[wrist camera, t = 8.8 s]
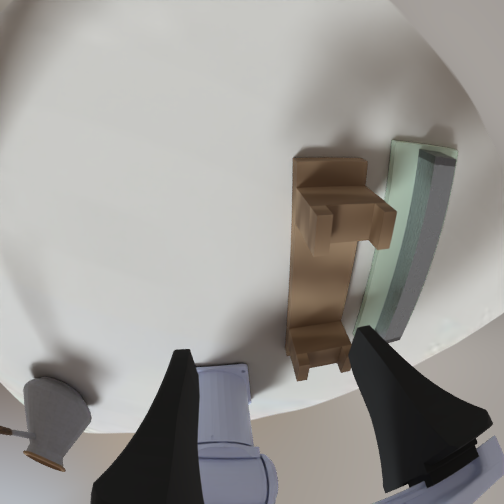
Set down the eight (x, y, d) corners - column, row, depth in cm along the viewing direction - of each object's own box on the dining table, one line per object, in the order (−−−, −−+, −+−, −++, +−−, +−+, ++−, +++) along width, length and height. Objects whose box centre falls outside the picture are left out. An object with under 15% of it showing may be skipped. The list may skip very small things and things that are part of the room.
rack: (330, 341, 28) (345, 380, 24) (285, 348, 28) (295, 390, 23) (361, 158, 18) (402, 182, 13) (292, 157, 17) (318, 182, 13)
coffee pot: (107, 411, 34) (97, 495, 21) (56, 405, 33) (41, 477, 21) (25, 316, 22) (-23, 431, 9) (-22, 317, 22) (-63, 404, 9)
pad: (404, 321, 28) (406, 325, 28) (352, 334, 28) (354, 338, 27) (453, 148, 18) (458, 150, 17) (391, 139, 17) (396, 141, 17)
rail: (392, 327, 27) (399, 339, 26) (374, 331, 27) (381, 344, 26) (440, 151, 17) (456, 159, 15) (419, 149, 17) (435, 156, 15)
